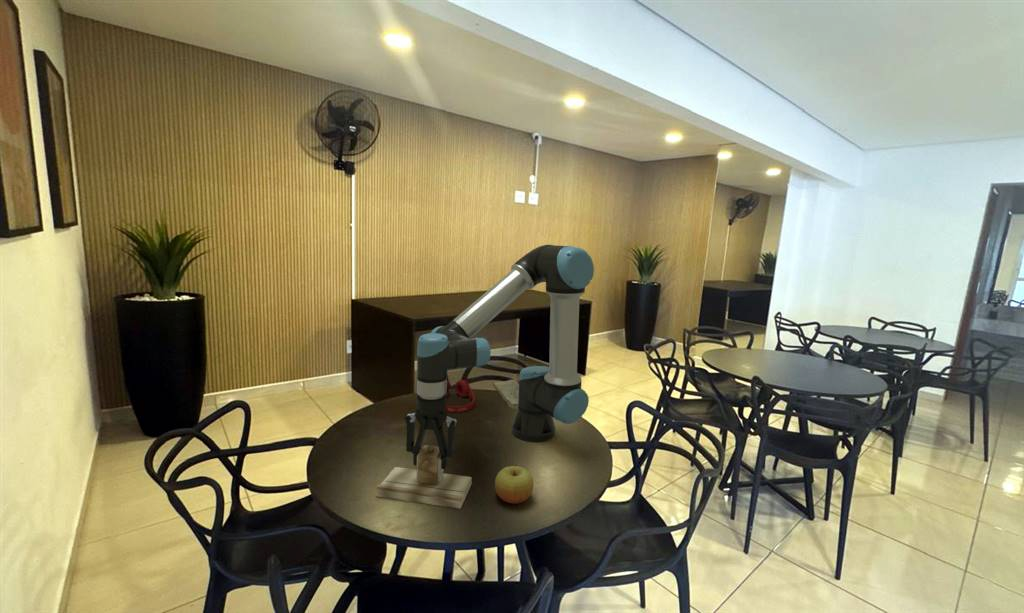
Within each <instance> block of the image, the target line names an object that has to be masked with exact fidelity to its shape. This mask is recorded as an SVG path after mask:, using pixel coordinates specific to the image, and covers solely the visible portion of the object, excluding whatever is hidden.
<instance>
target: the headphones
mask: <svg viewBox="0 0 1024 613" xmlns="http://www.w3.org/2000/svg"><path fill="white" fill-rule="evenodd" d="M450 389H451V383H450V381H449V380H447V390H446V398H447V397H448V395H449V393H450ZM455 392H456V394H457V395H458V396H459V397H461V398H465V397H467V396H468V395H469V398H470V399H471V402H469V403H467V404H465V405H460V406H453V405H447V404H446V413H453V412H456V413H464V411H465V412H467V410H468V411H470V410H471V409H472V408H474V407H475V398H476V397H475V394H474V391H472V388H471V387H470V384H469V383H468V381H467V380H464V379H459V380H458V381H456V383H455Z"/></svg>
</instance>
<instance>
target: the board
mask: <svg viewBox="0 0 1024 613" xmlns="http://www.w3.org/2000/svg"><path fill="white" fill-rule="evenodd" d="M472 480H473V477H471V476H466V475H460V474H459V475H457V474H450V473H444V472H443V478H442V480H441V482H438V483H437V485H431V484H424V483H418V479H417V469H413V468H408V467H406V468H405V467H397V466H394V467H393V469H392V470H391V471H390V473H388V475H387V476H386V477H385V479H384V480H382V482H381V483H378V484H377V485H376V497H379V498H384V499H392V500H396V501H397V500H399V501H405V502H411V503H419V504H426V505H433V506H439V507H446V508H453V509H458V510H459V509H462V507H463V504H464V502H465V500H466V497H467V495H468V493H469V491H470V488H471V486H472V482H473V481H472Z"/></svg>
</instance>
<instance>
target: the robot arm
mask: <svg viewBox="0 0 1024 613" xmlns="http://www.w3.org/2000/svg"><path fill="white" fill-rule="evenodd" d="M594 272H595V267H594V261H593V259H592V257H591V255H590V254H589V253H588V251H586V250H585V249H584V248H581V247H577V246H574V245H573V246H572V245H554V244H544V245H540V246H537V247H535V248H534V249H532V250H530V251H528V252H527V253H526V254H525V255H523V256H522V257H521V258H519V259H518V260H517V261H516V262H515V263H513V264H511V266H510V271H509V272H508V273H506V274H505V275H504V276H503V277H501V279H499V280H498V281H497V282H496V283H495V284H494V285H492V286H491V287H490V288H489V289H488V290H487V291H486V292H485V293H483V294H482V295H481V296H480V297H478V298H477V299H476V300H475V301H473V302H472V304H470V305H469V306H468V307H467V308H465V309H464V310H463V311H462V312H461V313H460V314H458V315H457V316H456V317H455V318H454V319H453V320H451V321H450V322H449V323H448V324H447V325H445V326H444V325H440V326H436V327H435V328H433V329H432V330H431V332H429V333H424V334H421V335H420V336H419V337H418V340H417V347H416V348H417V349H416V350H417V351H416V370H417V371H416V372H417V374H416V394H417V395H416V411H415V412H414V413H413V412H408V414H407V415H406V416H404V420H405V424H406V444H405V445H406V446H405V447H406V449H405V450H406V452H408V453H412V456H413V460H412V461H413V462H412V463H413V465H414V466H415V467H416V470H417V479H418V454H419V452H420V451H421V449H422V446H423V442H424V439H425V435H426V432H427V430H431V431H433V433H434V435H435V437H436V443H437V447H439V451H440V456H439V458H438V482H441V480H442V478H443V473H444V470H446V468H447V466H448V458H452V457H453V455H454V453H455V451H456V450H455V449H456V425H457V423H458V418H457V417H454V418H452V417H450V416H448V412H446V405H447V397H446V390H447V381H448V371H452V370H459V369H460V370H461V369H468V368H474V367H475V368H477V367H481V366H485V365H487V364H488V363H489V362H490V359H491V352H492V350H491V346H490V343H489V340H487V339H486V338H485V337H474V336H475V335H476V334H477V333H479V331H481V330H482V329H483V328H484V327H486V325H488V324H489V323H490V322H491V321H492V320H493V319H495V318H496V317H497V316H498V315H499V314H500V313H501V312H502V311H503V310H504V309H506V308H507V307H508V306H509V305H511V304H512V303H513V302H514V301H515V300H516V299H517V298H518V297H520V296H521V295H522V294H523V293H524V292H525V291H526V290H532V289H534V288H535V286H537V285H538V284H541V283H545V292H546V294H547V295H548V296H550V314H549V321H550V322H549V358H548V359H549V366H545V365H543V366H541V365H534V366H533V365H532V366H527V367H523V368H522V369H521V370H520V372H519V378H518V383H519V396H518V410H517V411H516V413H515V416H514V417H513V421H512V423H511V433H512V435H513V436H514V437H516V438H517V439H520V440H522V441H526V442H531V443H540V442H541V443H542V442H547V441H550V440H552V439H553V438H554V437H555V435H556V424H555V421H559V422H561V423H563V424H573V423H575V422H577V421H579V420H580V419H581V418H582V417H583V415H585V413H586V411H587V409H588V407H589V402H590V399H589V395H588V393H587V392H586V390H584V389H582V377H581V375H580V374H578V354H579V353H578V352H579V351H578V349H579V324H580V323H579V322H580V321H579V320H580V297H582V296H583V295H584V294H585V292H586V287H588V286H589V285H590V283H591V280H593V277H594V274H595V273H594ZM473 337H474V338H473ZM554 419H555V421H554ZM416 420H417V422H418V424H419V425H420V426H419V429H418V434H417V437H416V441H415V425H416V423H415V422H416ZM445 422H446V426H447V442H446V438H445V437H446V436H445V433H444V424H445Z"/></svg>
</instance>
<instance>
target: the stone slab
mask: <svg viewBox="0 0 1024 613" xmlns="http://www.w3.org/2000/svg"><path fill="white" fill-rule="evenodd" d="M492 384H493V385H492V386H493V389H494V390H496V391H497V393H498V394H499V396H500V397H501V398H502V400H503V401H504V402H505V403H506V404H508V405H507V406H508V407H509V408H510V409H512V410H518V396H519V381H517V380H516V379H509V380H504V381H495V382H493V383H492ZM511 393H512V394H511Z"/></svg>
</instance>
